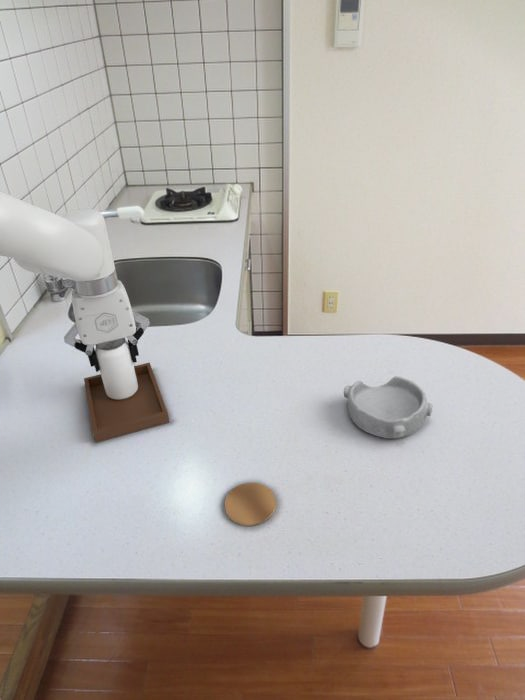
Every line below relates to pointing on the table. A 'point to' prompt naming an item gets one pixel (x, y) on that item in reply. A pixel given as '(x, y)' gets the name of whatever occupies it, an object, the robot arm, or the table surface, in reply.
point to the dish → (388, 407)
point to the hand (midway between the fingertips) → (115, 362)
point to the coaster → (250, 504)
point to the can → (117, 369)
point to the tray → (125, 406)
